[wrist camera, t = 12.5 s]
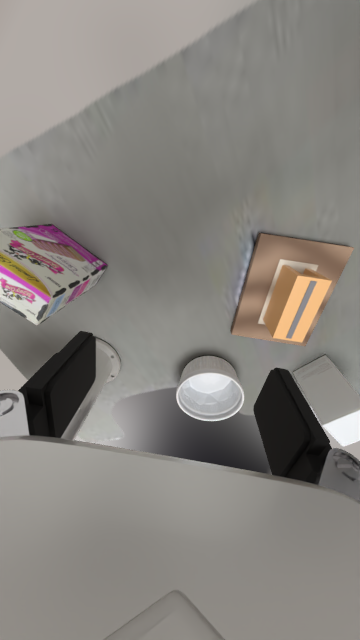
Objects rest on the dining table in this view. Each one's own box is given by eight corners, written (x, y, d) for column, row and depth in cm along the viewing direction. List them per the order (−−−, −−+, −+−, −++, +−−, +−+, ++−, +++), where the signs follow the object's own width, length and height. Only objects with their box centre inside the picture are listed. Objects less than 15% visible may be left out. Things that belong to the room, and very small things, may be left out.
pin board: (301, 341, 42) (312, 355, 38) (230, 330, 42) (233, 343, 38) (348, 246, 33) (367, 251, 29) (258, 232, 34) (266, 235, 30)
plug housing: (288, 324, 39) (302, 342, 33) (262, 320, 39) (272, 338, 33) (311, 269, 34) (332, 281, 29) (282, 264, 34) (298, 275, 29)
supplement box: (291, 371, 45) (320, 425, 34) (325, 353, 43) (369, 405, 32) (309, 391, 48) (342, 448, 36) (342, 375, 45) (389, 431, 34)
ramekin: (238, 395, 50) (243, 422, 44) (182, 396, 52) (179, 422, 46) (239, 348, 44) (245, 371, 38) (175, 351, 46) (171, 373, 40)
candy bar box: (109, 263, 38) (53, 298, 24) (96, 284, 40) (38, 328, 26) (51, 220, 36) (-52, 230, 21) (40, 245, 38) (-60, 269, 23)
